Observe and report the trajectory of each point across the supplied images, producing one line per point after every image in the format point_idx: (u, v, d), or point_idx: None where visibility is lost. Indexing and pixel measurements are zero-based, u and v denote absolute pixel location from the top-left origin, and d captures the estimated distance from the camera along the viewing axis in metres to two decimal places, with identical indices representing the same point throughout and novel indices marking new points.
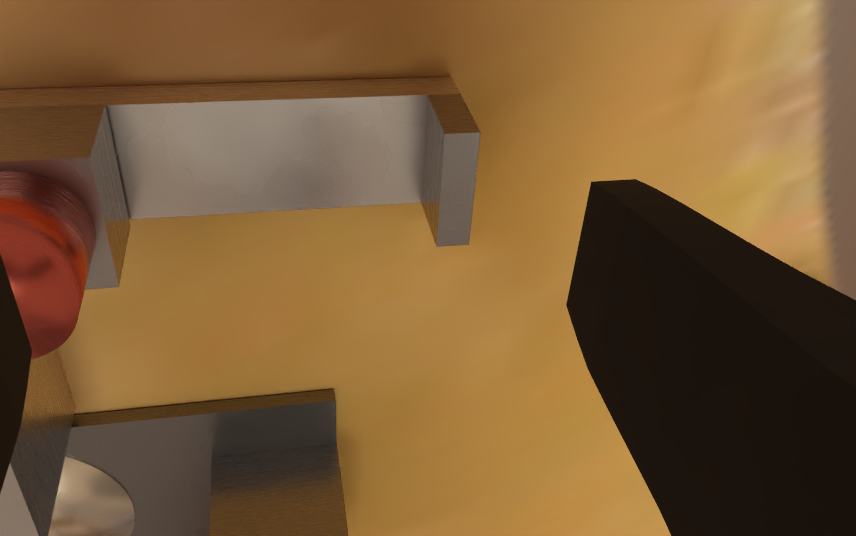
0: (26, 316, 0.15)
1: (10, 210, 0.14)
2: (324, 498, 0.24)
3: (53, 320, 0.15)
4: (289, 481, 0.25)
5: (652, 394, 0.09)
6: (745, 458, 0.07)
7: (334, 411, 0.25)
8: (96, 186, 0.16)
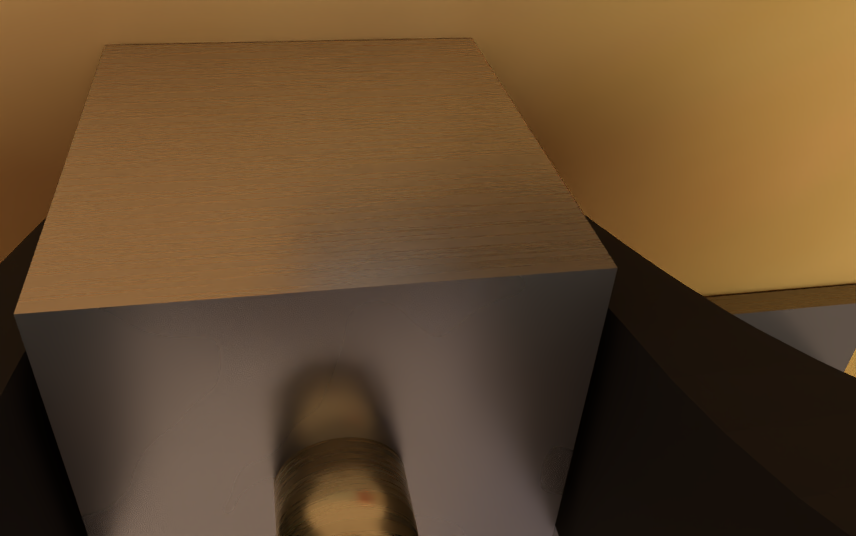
0: None
1: None
2: None
3: None
4: None
5: None
6: (616, 474, 0.07)
7: None
8: None
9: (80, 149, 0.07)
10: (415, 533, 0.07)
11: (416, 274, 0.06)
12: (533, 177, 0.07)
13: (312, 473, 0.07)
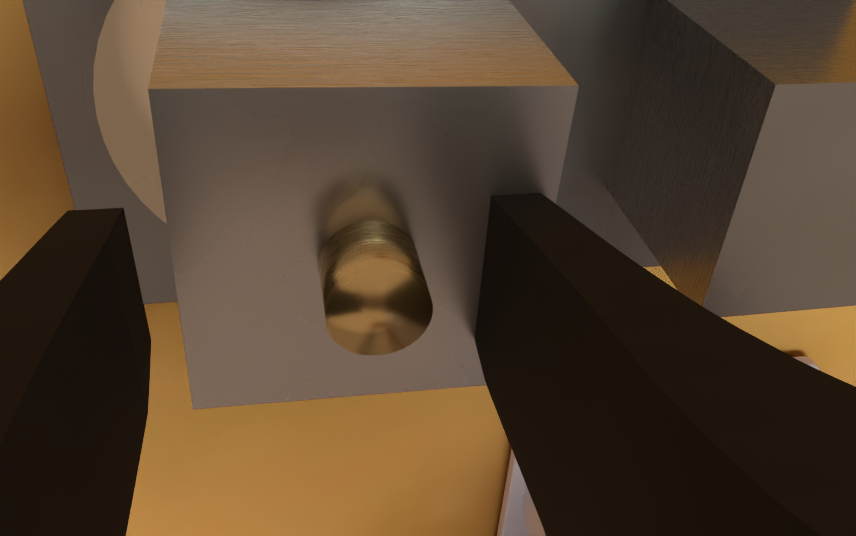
0: None
1: None
2: None
3: None
4: (822, 13, 0.13)
5: (532, 408, 0.09)
6: (601, 476, 0.07)
7: None
8: None
9: (173, 7, 0.10)
10: (426, 284, 0.09)
11: (432, 82, 0.08)
12: (519, 37, 0.10)
13: (349, 240, 0.09)
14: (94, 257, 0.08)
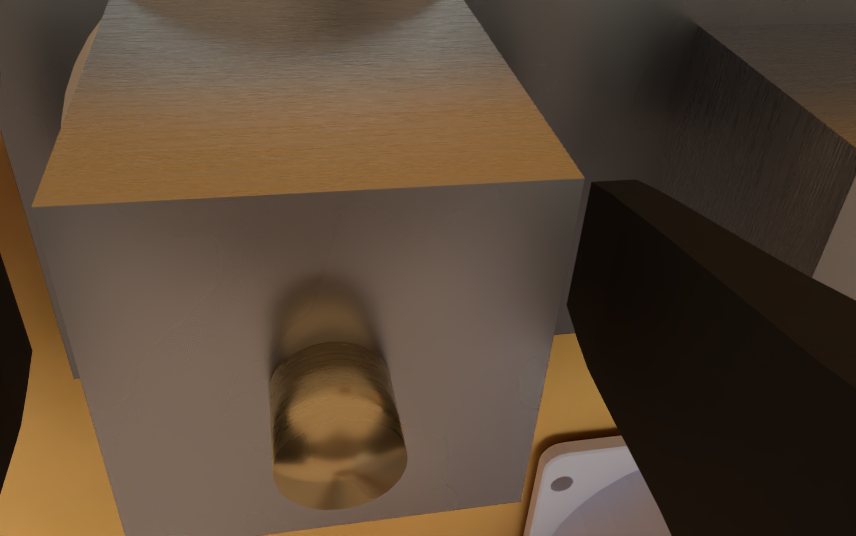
0: None
1: None
2: None
3: None
4: None
5: (652, 394, 0.09)
6: (745, 458, 0.07)
7: None
8: None
9: (89, 79, 0.08)
10: (398, 426, 0.07)
11: (400, 181, 0.07)
12: (510, 106, 0.08)
13: (304, 371, 0.07)
14: None
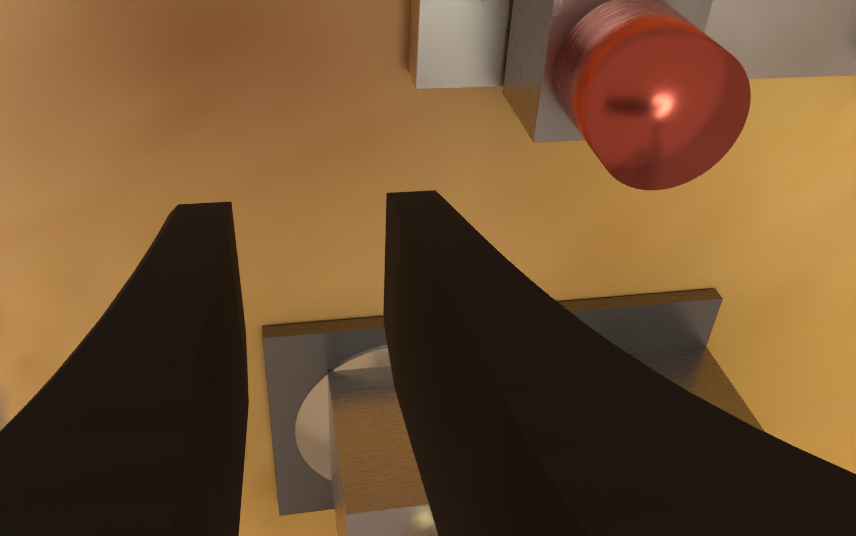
0: (694, 134, 0.14)
1: (687, 24, 0.14)
2: (721, 395, 0.24)
3: (714, 141, 0.14)
4: (678, 380, 0.24)
5: (427, 419, 0.09)
6: (474, 493, 0.07)
7: (717, 310, 0.25)
8: (706, 18, 0.15)
9: (340, 439, 0.21)
10: None
11: None
12: None
13: None
14: (220, 249, 0.08)
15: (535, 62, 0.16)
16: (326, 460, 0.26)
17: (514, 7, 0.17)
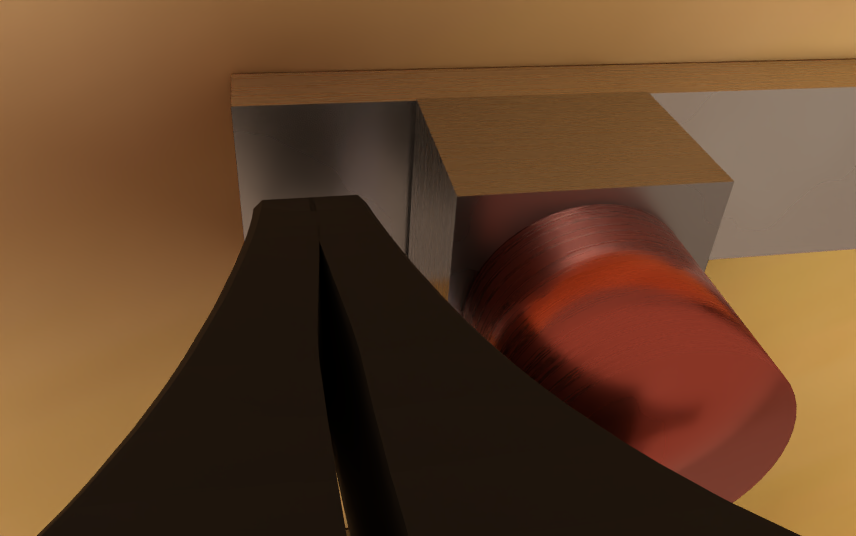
0: (696, 472, 0.08)
1: (683, 282, 0.08)
2: None
3: (730, 477, 0.08)
4: None
5: (339, 428, 0.08)
6: (366, 506, 0.07)
7: None
8: (714, 229, 0.09)
9: None
10: None
11: None
12: None
13: None
14: (317, 243, 0.08)
15: None
16: None
17: (413, 182, 0.11)
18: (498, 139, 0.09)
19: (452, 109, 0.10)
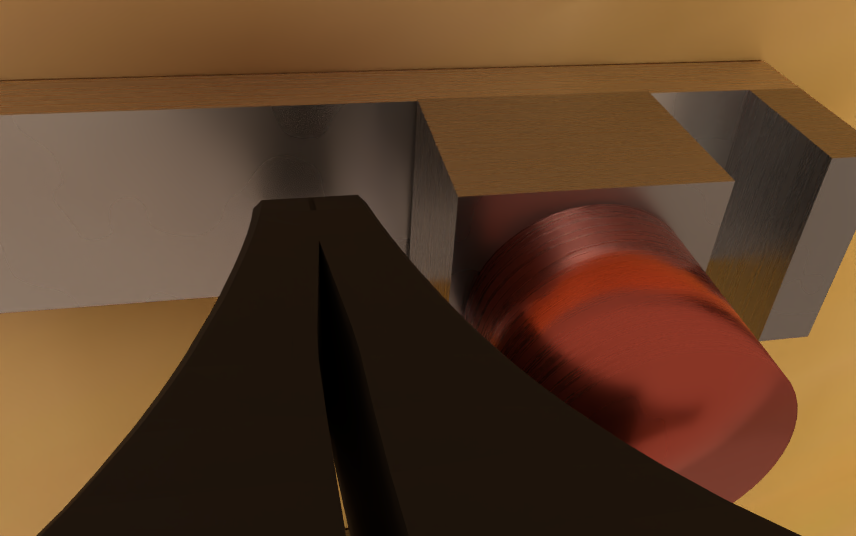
0: (696, 471, 0.08)
1: (685, 282, 0.08)
2: None
3: (731, 476, 0.08)
4: None
5: (339, 427, 0.08)
6: (366, 506, 0.07)
7: None
8: (715, 229, 0.09)
9: None
10: None
11: None
12: None
13: None
14: (317, 243, 0.08)
15: None
16: None
17: (414, 183, 0.11)
18: (499, 139, 0.09)
19: (452, 110, 0.10)
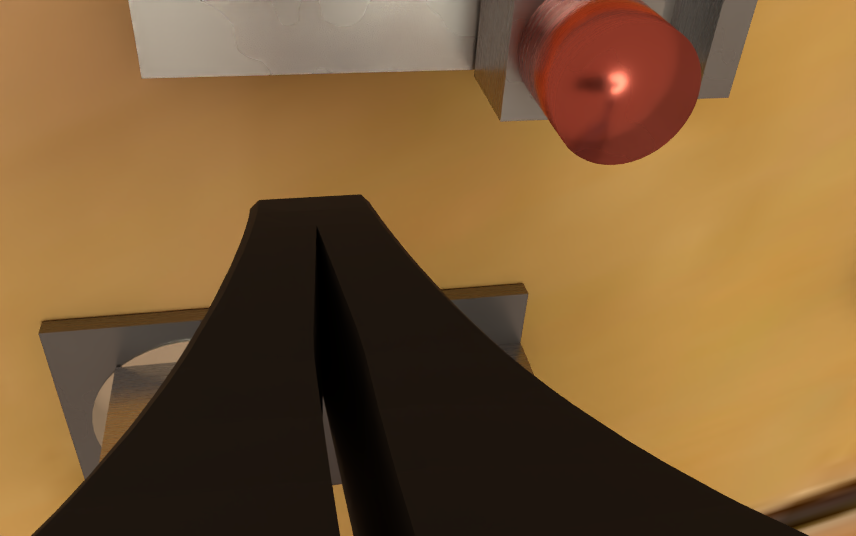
0: (648, 111, 0.15)
1: (642, 4, 0.15)
2: None
3: (668, 118, 0.15)
4: None
5: (342, 427, 0.08)
6: (370, 506, 0.07)
7: (525, 306, 0.25)
8: (663, 1, 0.16)
9: (107, 435, 0.21)
10: None
11: None
12: None
13: None
14: (313, 243, 0.08)
15: (501, 44, 0.17)
16: None
17: None
18: None
19: None
